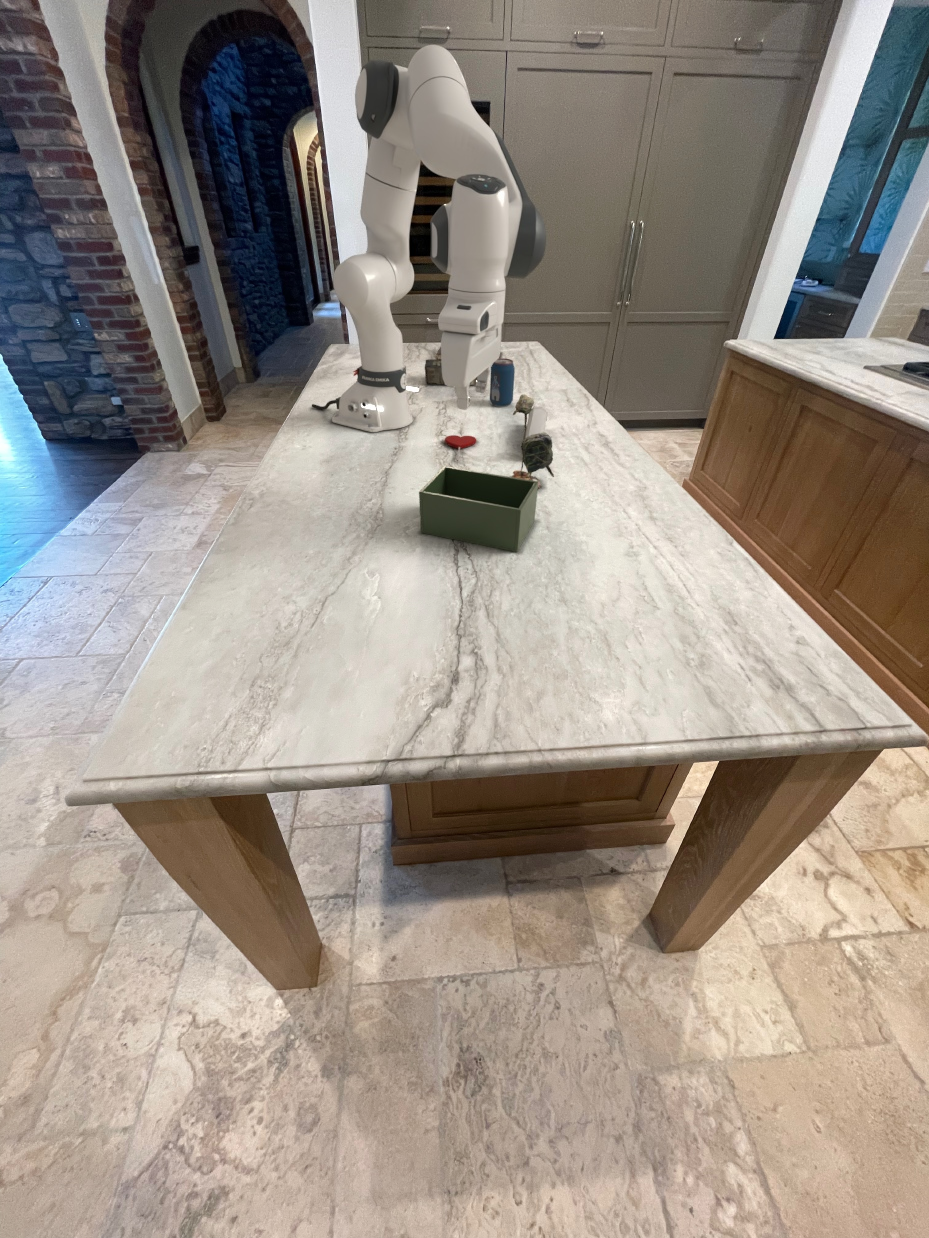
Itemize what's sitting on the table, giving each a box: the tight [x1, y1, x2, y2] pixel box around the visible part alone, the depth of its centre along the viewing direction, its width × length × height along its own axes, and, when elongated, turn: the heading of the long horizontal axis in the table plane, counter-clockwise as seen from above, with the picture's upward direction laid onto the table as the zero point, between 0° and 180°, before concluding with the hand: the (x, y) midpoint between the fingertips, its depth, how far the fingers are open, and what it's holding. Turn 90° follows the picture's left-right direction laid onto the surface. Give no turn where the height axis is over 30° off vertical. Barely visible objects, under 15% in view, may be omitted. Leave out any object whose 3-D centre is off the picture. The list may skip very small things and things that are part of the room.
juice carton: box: [424, 358, 477, 387], centre depth 176 cm, size 20×10×6 cm, turn 91°
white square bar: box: [526, 406, 548, 438], centre depth 136 cm, size 5×5×25 cm
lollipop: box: [444, 434, 477, 462], centre depth 133 cm, size 8×1×15 cm
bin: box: [418, 465, 539, 553], centre depth 102 cm, size 19×12×8 cm, turn 70°
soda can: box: [489, 357, 516, 408], centre depth 157 cm, size 7×7×12 cm
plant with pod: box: [508, 394, 555, 489], centre depth 112 cm, size 8×11×20 cm
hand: (472, 399), depth 93 cm, fingers open, 8 cm apart
